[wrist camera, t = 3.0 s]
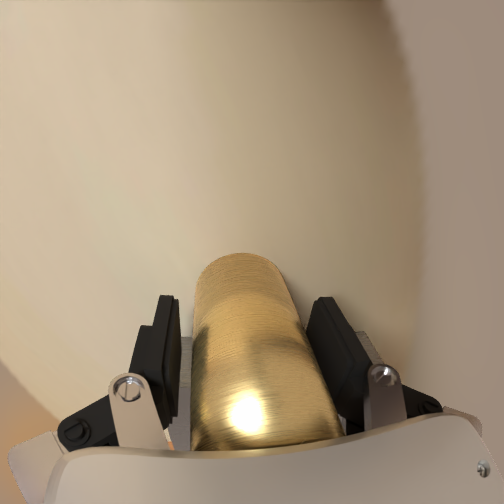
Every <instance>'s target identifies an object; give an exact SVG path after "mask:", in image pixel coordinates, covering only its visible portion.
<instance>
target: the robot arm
mask: <svg viewBox="0 0 504 504" xmlns="http://www.w3.org/2000/svg"><path fill="white" fill-rule="evenodd" d="M306 335H307V338H308V340H309V343H310V345H311V347H312V350H313V352H314V355H315V357H316V360H317V362H318V365H319V367H320V370H321V372H322V375H323V377H324V380H325V382H326V385H327V388H328V390H329V393H330V395H331V398H332V400H333V403H334V405H335V408H336V410H337V413H338V414H339V415H340V416H341V417H342V426H343V429H344V431H345V434H346V436H344V437H339V438H334V439H329V440H324V441H319V442H313V443H307V444H300V445H293V446H286V447H277V448H267V449H255V450H239V451H179V450H171V449H170V447H169V444H168V442H167V439H166V436H165V434H164V431H163V430H165V429H166V428H167V427H169V424H172V423H173V417H178V401H179V384H180V369H181V356H182V344H181V331H180V317H179V301H178V299H174V296H170V295H160V297H159V301H158V305H157V309H156V313H155V317H154V322H153V326H146V325H141V326H140V329H139V333H138V336H137V340H136V344H135V348H134V352H133V356H132V360H131V364H130V368H129V372H128V373H124V374H121V375H118V376H117V377H115V378H114V379H113V380H112V381H111V382H110V385H109V389H108V392H109V394H108V395H107V396H105V397H103V398H101V399H100V400H98V401H96V402H94V403H92V404H91V405H89V406H87V407H85V408H83V409H82V410H80V411H78V412H76V413H74V414H72V415H71V416H69V417H67V418H65V419H64V420H63V421H62V422H61V423H60V424H59V427H58V430H57V431H55V432H51V431H48V432H45V433H43V434H41V435H39V436H36V437H34V438H32V439H30V440H27V441H25V442H23V443H20V444H18V445H16V446H14V447H12V448H11V449H10V451H9V453H8V462H9V466H10V468H11V470H12V473H13V475H14V478H15V480H16V482H17V484H18V486H19V488H20V491H21V493H22V495H23V497H24V499H25V501H26V503H27V504H504V481H503V479H502V476H501V474H500V472H499V470H498V468H497V466H496V464H495V462H494V460H493V458H492V456H491V454H490V452H489V451H488V449H487V447H486V445H485V444H484V442H483V440H482V439H481V436H482V424H481V422H480V420H479V419H478V418H477V417H475V416H473V415H470V414H466V413H464V412H460V411H458V410H454V409H452V408H449V407H446V406H444V407H443V408H442V406H441V405H440V403H439V402H438V401H437V400H436V399H434V398H433V397H431V396H428V395H426V394H423V393H421V392H418V391H416V390H414V389H411V388H409V387H407V386H405V385H402V384H401V380H400V376H399V374H398V372H397V371H396V370H395V369H394V368H392V367H391V366H389V365H386V364H375V365H373V363H372V361H371V359H370V358H369V356H368V354H367V353H366V351H365V349H364V347H363V346H362V344H361V342H360V341H359V339H358V337H357V335H356V334H355V332H354V330H353V329H352V327H351V326H350V325H349V324H348V322H347V320H346V319H345V317H344V315H343V314H342V312H341V310H340V309H339V307H338V305H337V304H336V302H335V300H334V299H333V298H332V297H319V298H318V300H316V301H315V302H314V304H313V308H312V312H311V316H310V319H309V323H308V327H307V330H306Z"/></svg>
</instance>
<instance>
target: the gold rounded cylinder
mask: <svg viewBox="0 0 504 504" xmlns="http://www.w3.org/2000/svg"><path fill="white" fill-rule="evenodd" d="M344 436H346V434H345V431H344V429H343V426H342V423H341V421H340V418H339V416H338V413H337V410H336V408H335V405H334V403H333V400H332V398H331V395H330V393H329V390H328V388H327V385H326V382H325V380H324V377H323V375H322V372H321V370H320V367H319V365H318V362H317V360H316V357H315V355H314V352H313V350H312V347H311V345H310V343H309V340H308V338H307V335H306V333H305V330H304V328H303V325H302V323H301V320H300V318H299V316H298V313H297V311H296V308H295V306H294V304H293V301H292V299H291V296H290V294H289V291H288V289H287V287H286V284H285V282H284V280H283V277H282V275H281V273H280V271H279V270H278V269H277V267H276V266H275V265H274V264H273V263H271V262H270V261H269V260H267V259H265V258H263V257H261V256H258V255H254V254H249V253H236V254H230V255H227V256H224V257H221V258H219V259H217V260H215V261H214V262H212V263H211V264H210V265H208V266H207V267H206V268H205V269H204V271H203V272H202V273H201V275H200V277H199V279H198V281H197V285H196V292H195V306H194V322H193V340H192V362H191V395H190V451H239V450H255V449H267V448H277V447H286V446H293V445H300V444H307V443H313V442H319V441H324V440H329V439H334V438H339V437H344Z"/></svg>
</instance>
